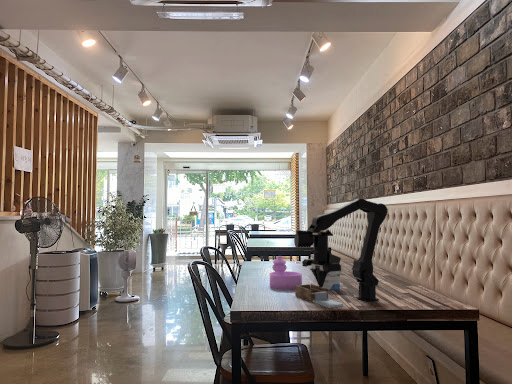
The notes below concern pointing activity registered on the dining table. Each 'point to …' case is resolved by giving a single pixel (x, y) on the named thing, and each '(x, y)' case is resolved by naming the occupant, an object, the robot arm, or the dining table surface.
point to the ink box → (332, 281)
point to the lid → (325, 300)
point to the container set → (283, 276)
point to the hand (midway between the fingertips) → (321, 286)
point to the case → (308, 291)
